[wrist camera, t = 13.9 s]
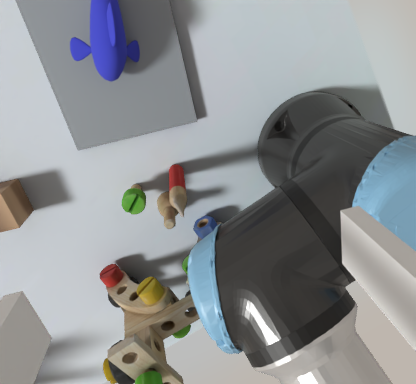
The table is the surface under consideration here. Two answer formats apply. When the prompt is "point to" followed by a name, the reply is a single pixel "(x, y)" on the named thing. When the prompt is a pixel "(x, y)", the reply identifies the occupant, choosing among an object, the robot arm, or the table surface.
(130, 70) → the slate plate
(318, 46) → the table surface
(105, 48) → the fish toy
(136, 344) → the toy construction set
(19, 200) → the walnut block
